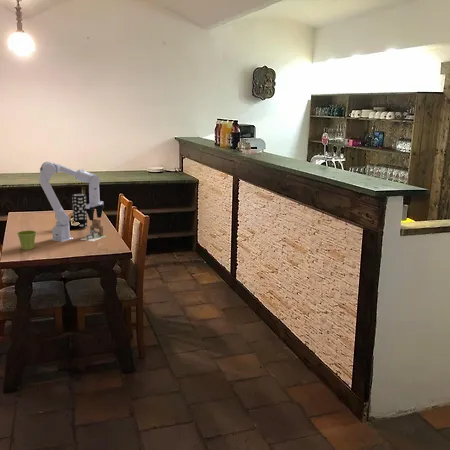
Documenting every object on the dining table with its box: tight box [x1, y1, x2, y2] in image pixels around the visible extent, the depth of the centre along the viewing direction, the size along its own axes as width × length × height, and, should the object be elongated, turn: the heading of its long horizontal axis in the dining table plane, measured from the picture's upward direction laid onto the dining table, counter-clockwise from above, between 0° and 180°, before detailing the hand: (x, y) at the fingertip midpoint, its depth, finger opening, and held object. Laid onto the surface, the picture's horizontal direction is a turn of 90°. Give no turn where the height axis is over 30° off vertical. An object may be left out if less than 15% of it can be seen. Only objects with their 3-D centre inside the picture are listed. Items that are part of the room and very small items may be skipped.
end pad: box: [90, 233, 106, 239], centre depth 297 cm, size 4×8×1 cm, turn 70°
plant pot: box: [16, 230, 37, 251], centre depth 270 cm, size 9×9×9 cm
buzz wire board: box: [80, 229, 104, 242], centre depth 293 cm, size 13×9×5 cm
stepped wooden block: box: [89, 218, 104, 237], centre depth 297 cm, size 2×7×9 cm, turn 70°
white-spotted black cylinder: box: [71, 193, 88, 229], centre depth 319 cm, size 8×8×20 cm
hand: (95, 218), depth 296 cm, fingers open, 7 cm apart
